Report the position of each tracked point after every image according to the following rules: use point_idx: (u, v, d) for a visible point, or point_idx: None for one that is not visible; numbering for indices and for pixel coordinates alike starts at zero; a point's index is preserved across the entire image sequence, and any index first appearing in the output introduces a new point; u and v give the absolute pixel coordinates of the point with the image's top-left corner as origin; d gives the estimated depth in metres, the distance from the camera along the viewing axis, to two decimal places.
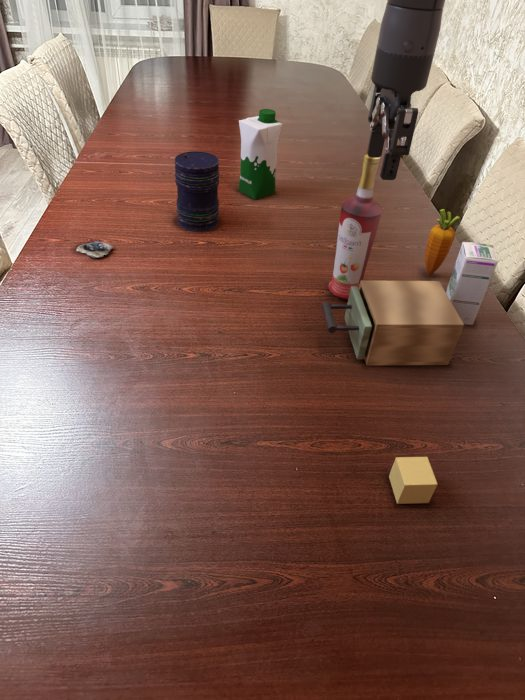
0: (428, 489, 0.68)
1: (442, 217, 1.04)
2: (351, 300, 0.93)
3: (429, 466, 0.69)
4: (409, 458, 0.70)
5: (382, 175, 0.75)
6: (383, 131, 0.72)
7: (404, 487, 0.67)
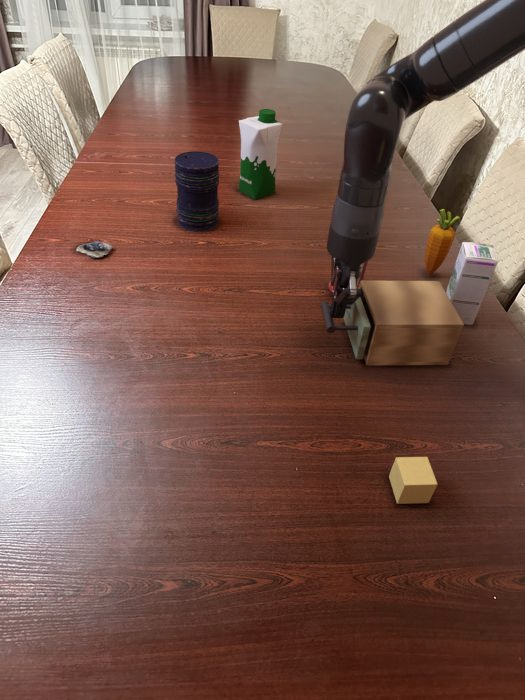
0: (428, 489, 0.68)
1: (442, 217, 1.04)
2: None
3: (429, 466, 0.69)
4: (409, 458, 0.70)
5: (332, 315, 0.89)
6: (334, 285, 0.85)
7: (404, 487, 0.67)
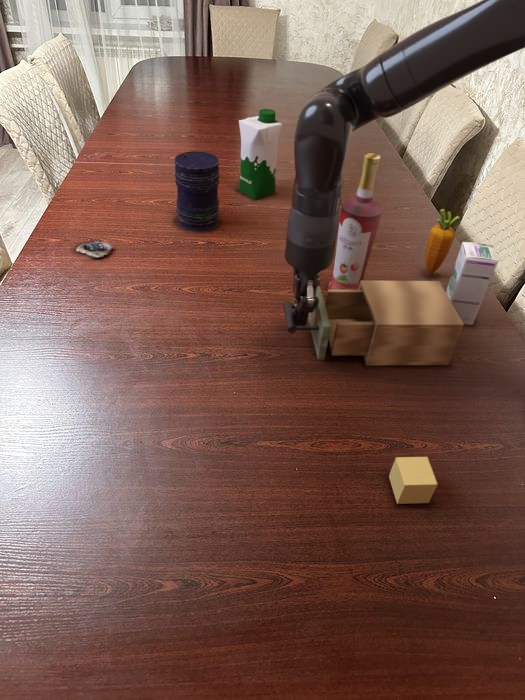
0: (428, 489, 0.68)
1: (442, 217, 1.04)
2: None
3: (429, 466, 0.69)
4: (409, 458, 0.70)
5: (295, 322, 0.89)
6: (294, 294, 0.85)
7: (404, 487, 0.67)
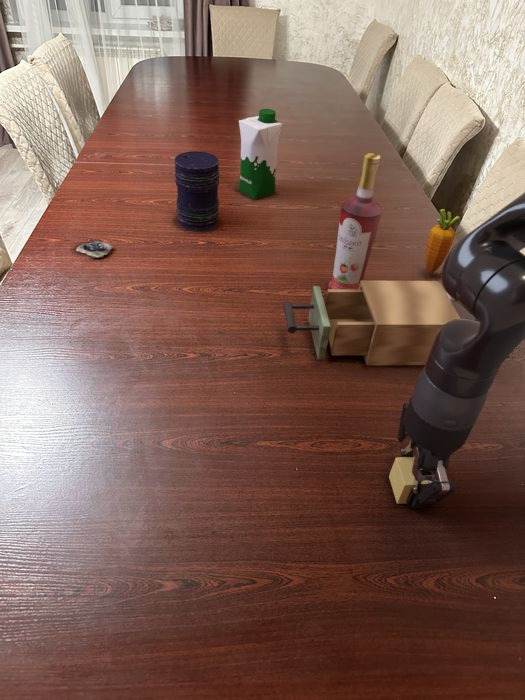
0: None
1: (442, 217, 1.04)
2: (313, 300, 0.92)
3: None
4: (409, 458, 0.70)
5: (408, 504, 0.68)
6: (413, 473, 0.65)
7: (404, 487, 0.67)
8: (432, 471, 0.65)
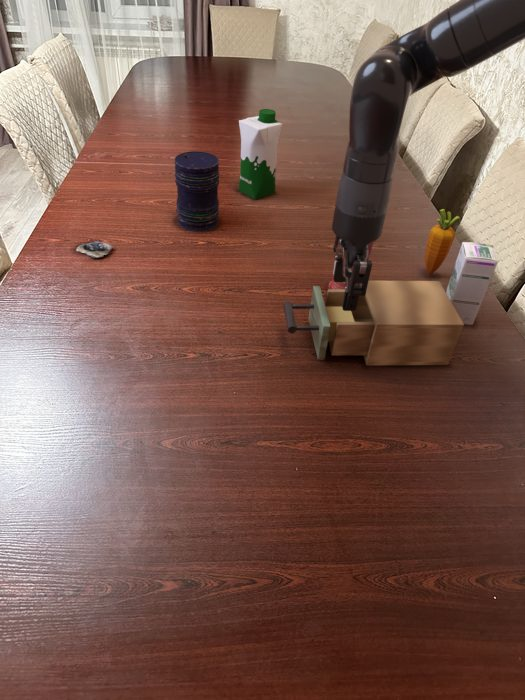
0: None
1: (442, 217, 1.04)
2: (313, 300, 0.92)
3: (350, 312, 0.90)
4: (335, 307, 0.91)
5: (343, 307, 0.83)
6: (343, 272, 0.80)
7: (330, 324, 0.88)
8: None
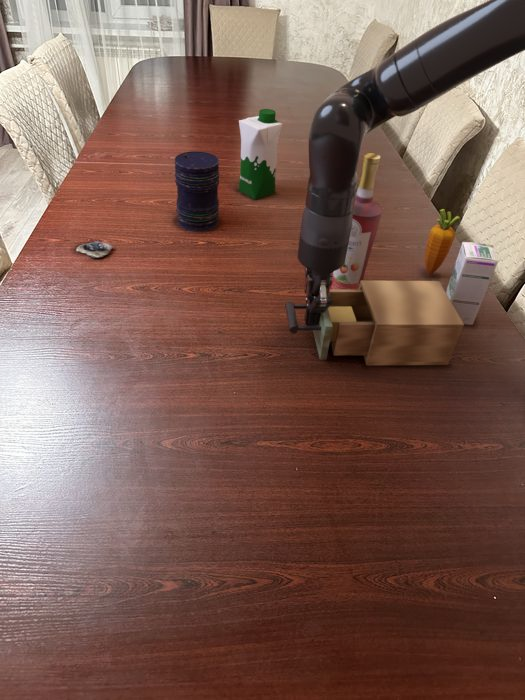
0: None
1: (442, 217, 1.04)
2: None
3: (352, 312, 0.90)
4: (337, 307, 0.91)
5: (306, 322, 0.89)
6: (306, 294, 0.85)
7: (332, 324, 0.88)
8: None
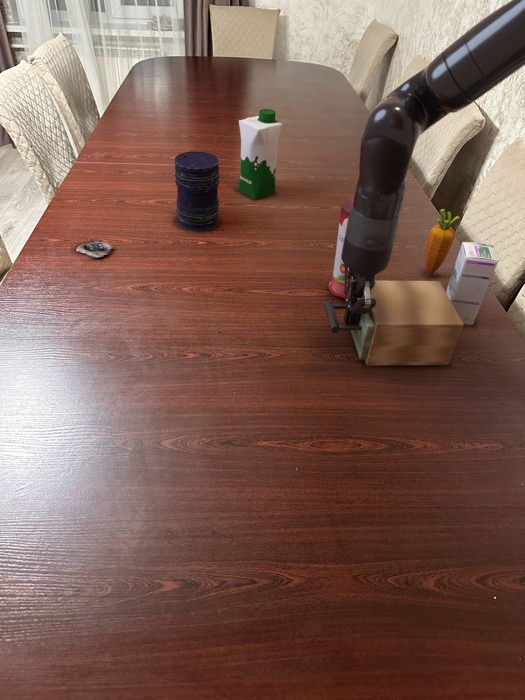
0: None
1: (442, 217, 1.04)
2: None
3: None
4: None
5: (346, 323, 0.90)
6: (348, 295, 0.86)
7: None
8: None
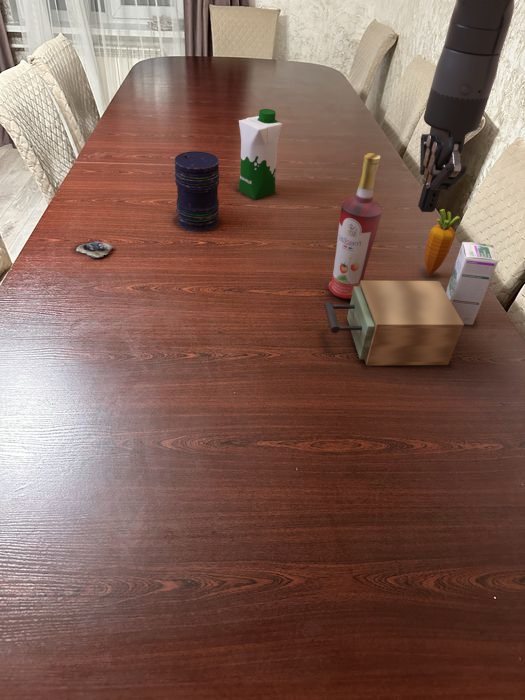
0: None
1: (442, 217, 1.04)
2: (354, 300, 0.93)
3: None
4: None
5: (422, 207, 0.79)
6: (429, 168, 0.74)
7: None
8: None
